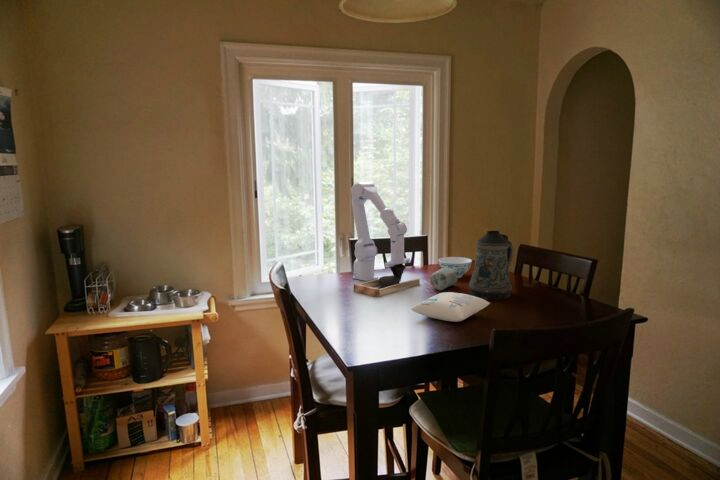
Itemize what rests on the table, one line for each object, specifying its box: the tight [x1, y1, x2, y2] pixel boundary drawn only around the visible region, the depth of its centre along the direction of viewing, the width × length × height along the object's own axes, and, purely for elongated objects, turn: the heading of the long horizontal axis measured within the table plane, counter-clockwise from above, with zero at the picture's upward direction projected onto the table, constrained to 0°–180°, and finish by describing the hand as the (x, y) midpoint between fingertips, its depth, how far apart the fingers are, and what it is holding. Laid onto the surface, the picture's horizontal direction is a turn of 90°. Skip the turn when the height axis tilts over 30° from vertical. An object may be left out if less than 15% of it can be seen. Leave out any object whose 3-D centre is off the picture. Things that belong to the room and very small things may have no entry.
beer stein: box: [468, 230, 515, 301], centre depth 179 cm, size 16×19×25 cm
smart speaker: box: [378, 275, 401, 289], centre depth 193 cm, size 9×9×4 cm
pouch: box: [410, 291, 491, 323], centre depth 152 cm, size 8×19×20 cm
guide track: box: [352, 274, 421, 298], centre depth 192 cm, size 13×27×3 cm, turn 134°
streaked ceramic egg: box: [430, 268, 458, 291], centre depth 190 cm, size 14×10×10 cm
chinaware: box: [438, 256, 473, 279], centre depth 209 cm, size 15×15×8 cm
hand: (397, 281), depth 197 cm, fingers closed
